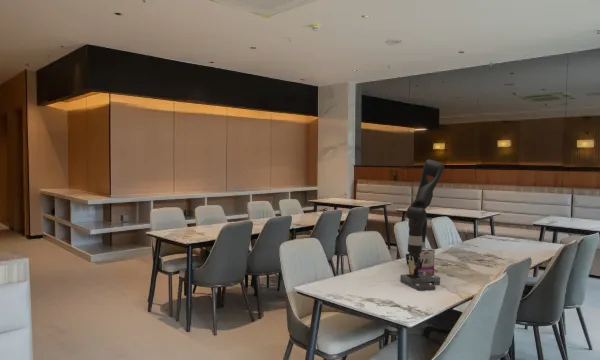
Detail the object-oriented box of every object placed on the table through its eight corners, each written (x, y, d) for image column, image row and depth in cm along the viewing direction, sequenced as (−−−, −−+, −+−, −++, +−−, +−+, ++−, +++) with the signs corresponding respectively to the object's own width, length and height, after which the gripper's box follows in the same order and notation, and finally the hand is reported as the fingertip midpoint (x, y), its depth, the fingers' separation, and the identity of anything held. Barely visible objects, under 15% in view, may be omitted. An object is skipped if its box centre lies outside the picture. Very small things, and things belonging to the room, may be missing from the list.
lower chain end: (400, 281, 247) (400, 277, 247) (415, 280, 251) (415, 276, 251) (419, 291, 230) (419, 286, 230) (435, 289, 234) (435, 284, 234)
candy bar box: (429, 275, 264) (430, 248, 264) (433, 277, 260) (435, 249, 259) (412, 275, 262) (413, 248, 261) (416, 278, 257) (418, 250, 256)
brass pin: (407, 281, 245) (408, 259, 245) (414, 280, 247) (415, 259, 246) (412, 283, 242) (413, 261, 241) (418, 282, 243) (419, 261, 242)
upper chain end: (400, 281, 247) (400, 273, 247) (428, 279, 254) (429, 271, 253) (410, 286, 238) (410, 278, 238) (439, 284, 244) (440, 276, 244)
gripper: (428, 245, 238) (427, 277, 239) (413, 241, 251) (411, 271, 252) (416, 246, 235) (415, 278, 236) (401, 241, 249) (400, 271, 250)
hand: (413, 274), depth 244 cm, fingers closed on brass pin, 4 cm apart
